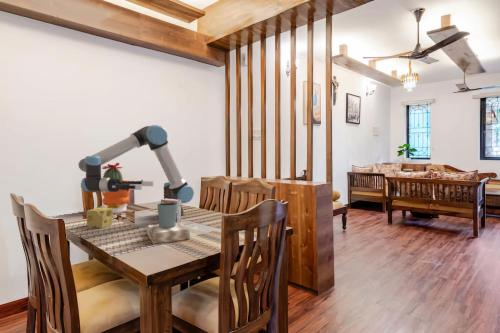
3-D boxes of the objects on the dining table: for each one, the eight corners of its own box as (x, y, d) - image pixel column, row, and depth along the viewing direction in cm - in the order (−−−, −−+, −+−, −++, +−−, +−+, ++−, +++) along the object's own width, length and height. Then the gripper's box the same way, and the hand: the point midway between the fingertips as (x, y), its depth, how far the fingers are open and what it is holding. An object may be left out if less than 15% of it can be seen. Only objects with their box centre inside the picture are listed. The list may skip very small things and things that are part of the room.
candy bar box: (160, 227, 181) (160, 199, 180) (165, 225, 186) (165, 198, 185) (176, 229, 177) (176, 200, 176) (181, 227, 182) (181, 199, 181)
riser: (180, 230, 174) (180, 221, 174) (189, 239, 158) (189, 229, 158) (147, 234, 166) (147, 225, 166) (153, 243, 150) (153, 233, 150)
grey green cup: (154, 227, 160) (154, 204, 159) (163, 223, 170) (163, 201, 169) (172, 229, 158) (172, 205, 157) (180, 224, 168) (180, 202, 167)
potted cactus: (92, 212, 218) (92, 163, 216) (111, 207, 240) (111, 162, 238) (120, 214, 215) (120, 164, 213) (137, 208, 237) (137, 162, 235)
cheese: (102, 228, 177) (101, 211, 176) (85, 227, 179) (85, 210, 179) (113, 224, 187) (113, 207, 187) (97, 223, 189) (97, 207, 189)
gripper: (122, 188, 181) (157, 189, 178) (96, 195, 156) (136, 196, 153) (122, 175, 180) (157, 176, 177) (96, 180, 155) (136, 181, 153)
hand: (147, 185), depth 165 cm, fingers open, 13 cm apart
